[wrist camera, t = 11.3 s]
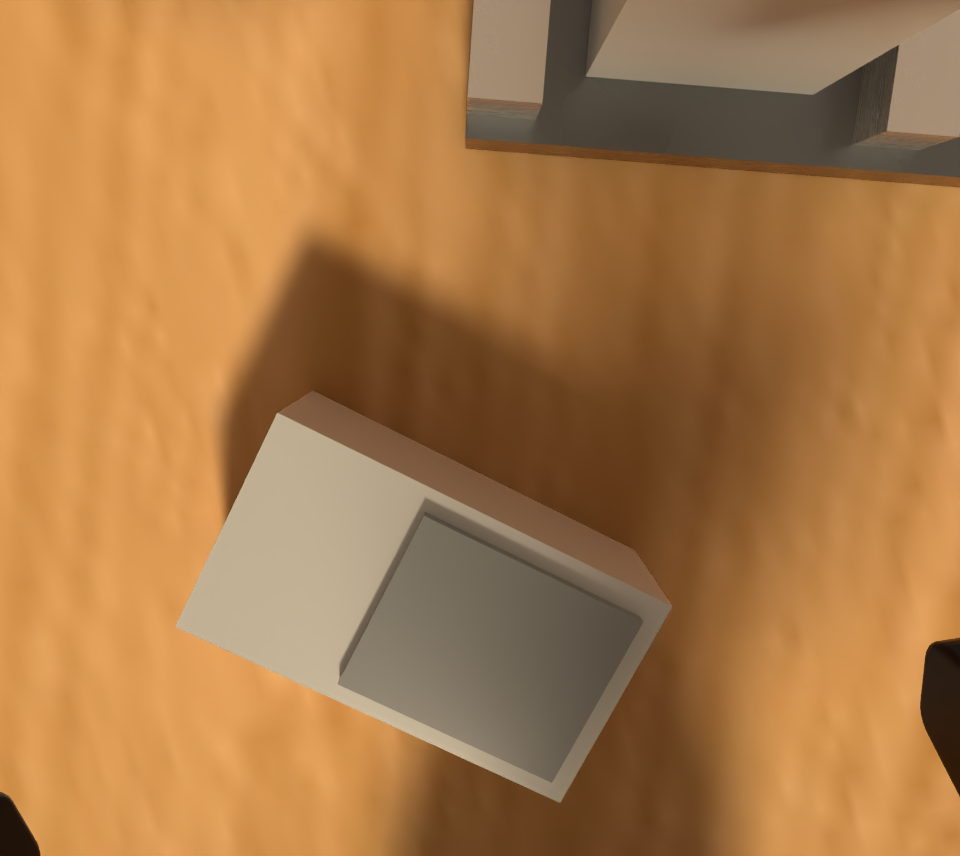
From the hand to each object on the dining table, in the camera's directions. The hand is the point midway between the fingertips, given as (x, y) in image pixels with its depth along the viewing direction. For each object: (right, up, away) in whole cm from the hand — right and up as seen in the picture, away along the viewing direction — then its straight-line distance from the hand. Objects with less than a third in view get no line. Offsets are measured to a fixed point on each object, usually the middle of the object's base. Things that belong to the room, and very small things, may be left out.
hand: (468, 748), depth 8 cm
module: (-1, 0, +13) cm, 13 cm away
